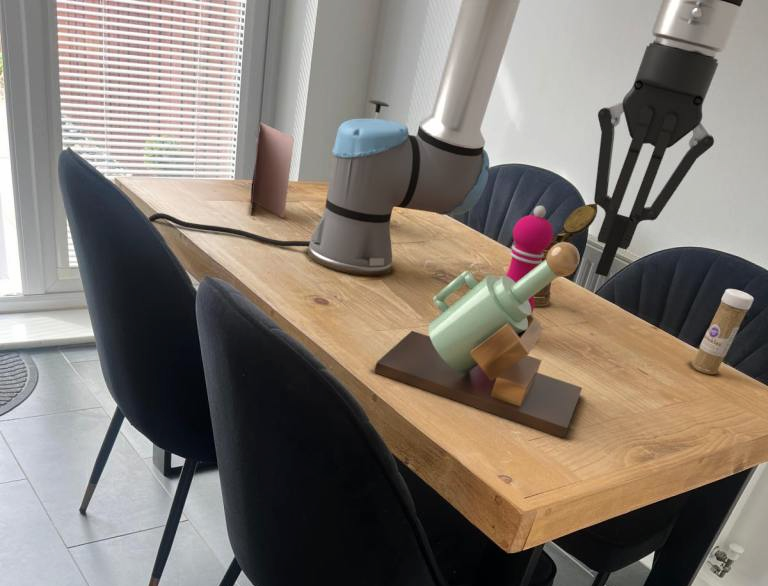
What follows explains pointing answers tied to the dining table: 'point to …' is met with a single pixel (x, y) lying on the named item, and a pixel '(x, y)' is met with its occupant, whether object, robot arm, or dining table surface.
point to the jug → (492, 306)
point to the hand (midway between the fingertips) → (602, 272)
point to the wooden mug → (572, 227)
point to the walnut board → (479, 386)
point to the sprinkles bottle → (722, 331)
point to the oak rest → (510, 361)
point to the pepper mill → (529, 245)
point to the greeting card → (272, 169)
